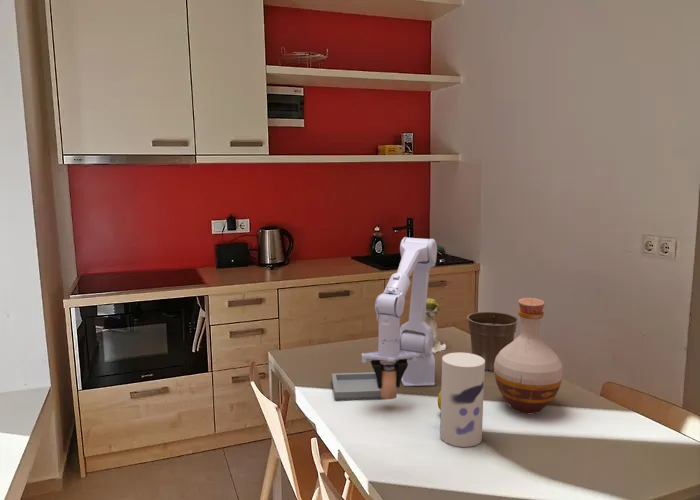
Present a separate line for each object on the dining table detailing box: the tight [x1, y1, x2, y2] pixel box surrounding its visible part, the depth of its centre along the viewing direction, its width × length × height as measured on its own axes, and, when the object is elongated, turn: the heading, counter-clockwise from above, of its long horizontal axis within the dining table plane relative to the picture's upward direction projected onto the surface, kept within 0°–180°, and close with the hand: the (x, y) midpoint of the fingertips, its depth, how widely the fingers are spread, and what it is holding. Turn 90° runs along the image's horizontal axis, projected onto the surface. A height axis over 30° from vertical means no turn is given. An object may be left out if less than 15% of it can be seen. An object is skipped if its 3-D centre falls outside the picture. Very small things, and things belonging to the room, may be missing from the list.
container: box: [439, 352, 486, 448], centre depth 136 cm, size 10×10×20 cm
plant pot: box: [466, 311, 519, 372], centre depth 186 cm, size 16×16×16 cm
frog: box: [415, 297, 447, 355], centre depth 202 cm, size 12×13×18 cm
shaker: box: [380, 361, 398, 400], centre depth 153 cm, size 5×5×9 cm
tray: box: [331, 371, 384, 402], centre depth 166 cm, size 14×14×2 cm
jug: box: [493, 297, 564, 414], centre depth 153 cm, size 20×18×30 cm
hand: (388, 386), depth 153 cm, fingers closed on shaker, 4 cm apart
